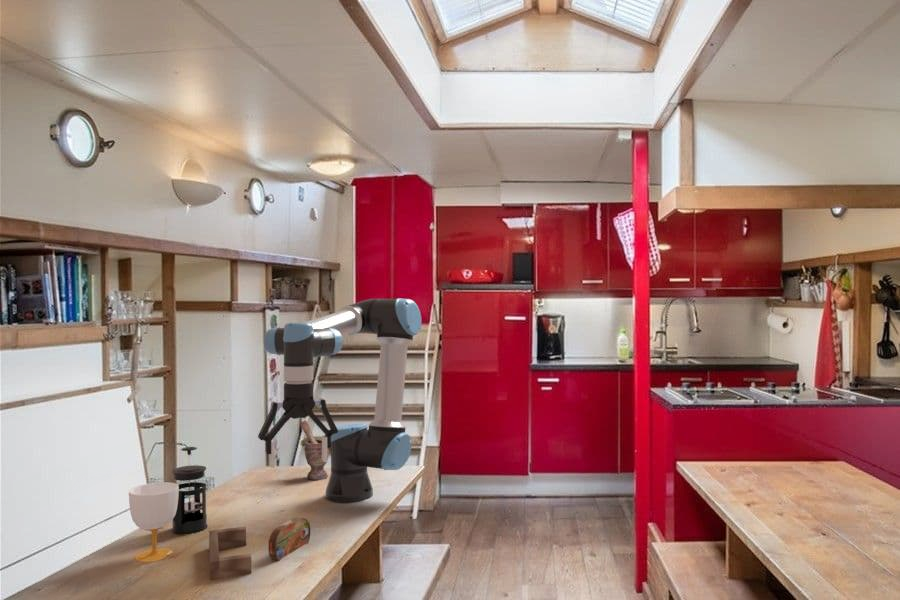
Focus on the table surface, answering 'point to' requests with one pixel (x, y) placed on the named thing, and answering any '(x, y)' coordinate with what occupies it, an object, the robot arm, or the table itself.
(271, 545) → the tin
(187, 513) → the french press
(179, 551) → the table surface
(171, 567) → the table surface
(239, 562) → the shelf
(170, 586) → the table surface
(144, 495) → the cup
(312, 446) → the mortar and pestle
